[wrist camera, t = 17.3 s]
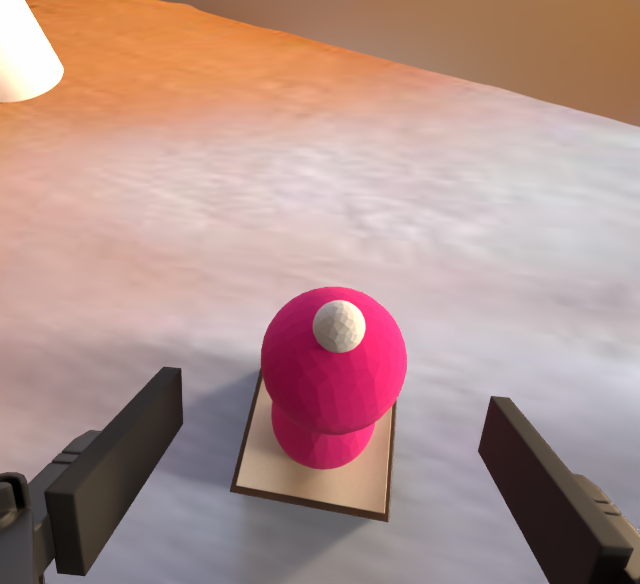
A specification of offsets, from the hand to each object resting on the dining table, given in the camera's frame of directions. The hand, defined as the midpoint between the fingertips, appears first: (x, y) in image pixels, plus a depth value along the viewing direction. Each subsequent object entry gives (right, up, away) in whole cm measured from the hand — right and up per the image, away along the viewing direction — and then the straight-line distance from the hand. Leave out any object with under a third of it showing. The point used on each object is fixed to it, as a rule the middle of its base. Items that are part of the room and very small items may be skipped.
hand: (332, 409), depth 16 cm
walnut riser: (-1, -9, +20) cm, 22 cm away
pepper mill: (0, -6, +14) cm, 15 cm away
